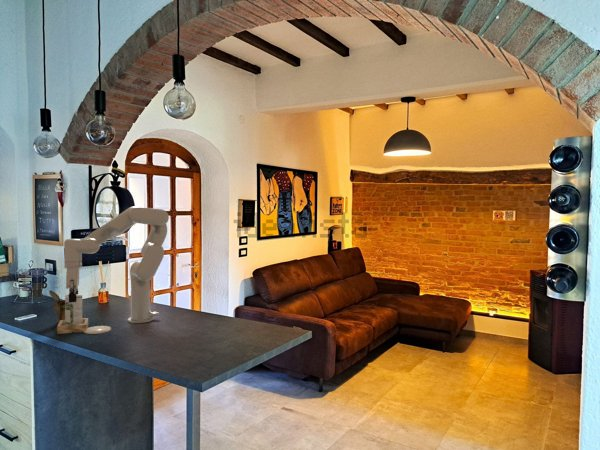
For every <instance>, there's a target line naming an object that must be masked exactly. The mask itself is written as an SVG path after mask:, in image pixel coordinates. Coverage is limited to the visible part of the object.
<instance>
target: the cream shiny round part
mask: <svg viewBox="0 0 600 450" xmlns="http://www.w3.org/2000/svg"><path fill="white" fill-rule="evenodd" d="M111 330H112V327H111V326H108V325H96V326H95V325H94V326H90V327H89V326H88V328H87V330H84V332H83V334H84V333H85V334H87V335H99V334H105V333H108V332H111Z"/></svg>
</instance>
